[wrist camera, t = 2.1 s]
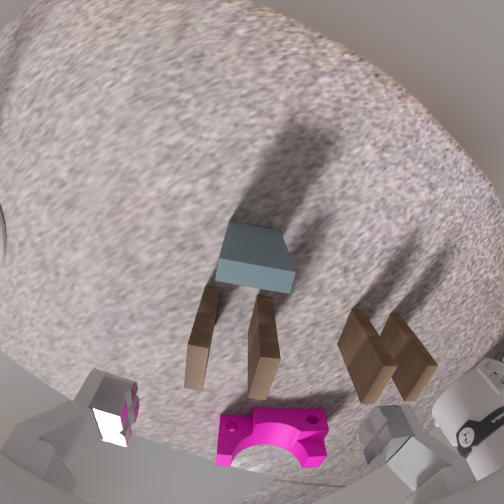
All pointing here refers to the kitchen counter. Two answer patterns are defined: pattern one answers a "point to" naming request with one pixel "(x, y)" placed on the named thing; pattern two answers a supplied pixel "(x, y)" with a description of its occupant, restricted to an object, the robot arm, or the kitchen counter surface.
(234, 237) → the domino
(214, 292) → the domino
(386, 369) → the domino
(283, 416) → the toy block
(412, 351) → the domino
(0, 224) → the candlestick
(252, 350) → the domino
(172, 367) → the kitchen counter surface
